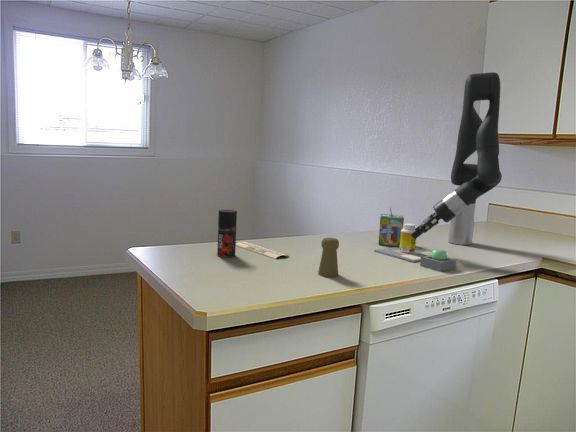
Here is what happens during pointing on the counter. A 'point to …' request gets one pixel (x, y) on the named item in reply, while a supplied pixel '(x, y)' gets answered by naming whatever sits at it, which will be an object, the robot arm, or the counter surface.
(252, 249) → the newspaper
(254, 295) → the counter surface
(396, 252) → the sheet board
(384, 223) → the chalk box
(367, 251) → the counter surface
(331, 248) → the cork
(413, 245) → the supplement bottle
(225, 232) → the deodorant
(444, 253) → the button
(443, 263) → the button housing
